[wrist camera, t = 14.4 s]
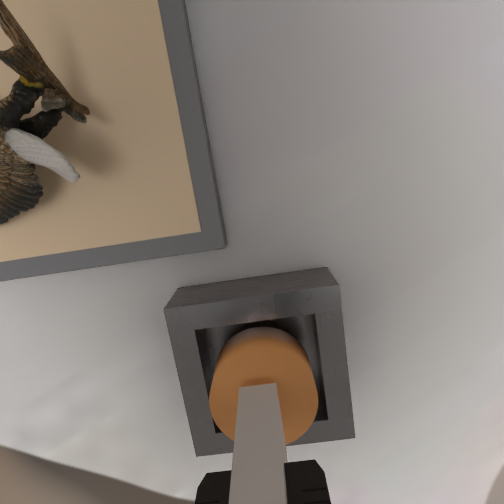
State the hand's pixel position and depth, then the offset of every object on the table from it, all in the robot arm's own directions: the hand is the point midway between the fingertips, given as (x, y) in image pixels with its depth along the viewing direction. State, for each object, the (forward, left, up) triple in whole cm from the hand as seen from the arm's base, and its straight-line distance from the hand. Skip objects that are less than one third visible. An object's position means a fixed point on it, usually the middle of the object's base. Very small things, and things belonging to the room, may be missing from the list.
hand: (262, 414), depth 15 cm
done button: (0, 0, -3) cm, 3 cm away
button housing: (0, 0, -6) cm, 6 cm away
